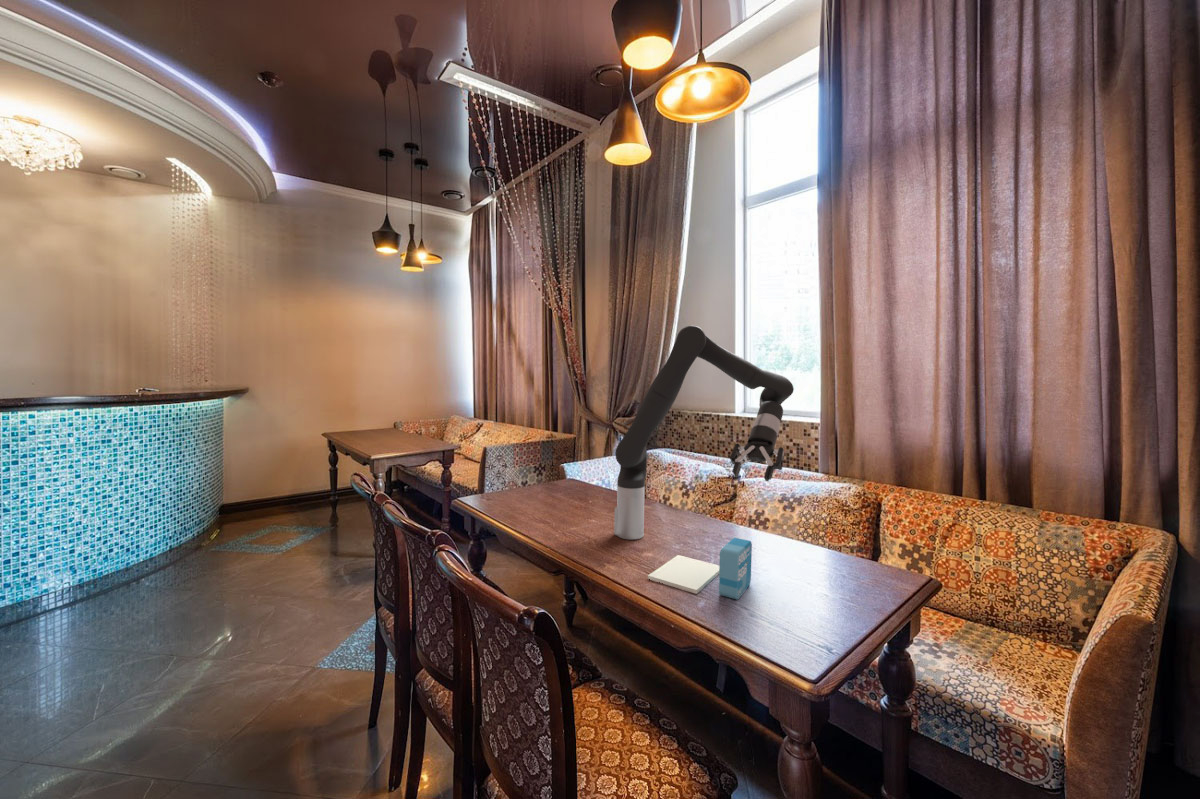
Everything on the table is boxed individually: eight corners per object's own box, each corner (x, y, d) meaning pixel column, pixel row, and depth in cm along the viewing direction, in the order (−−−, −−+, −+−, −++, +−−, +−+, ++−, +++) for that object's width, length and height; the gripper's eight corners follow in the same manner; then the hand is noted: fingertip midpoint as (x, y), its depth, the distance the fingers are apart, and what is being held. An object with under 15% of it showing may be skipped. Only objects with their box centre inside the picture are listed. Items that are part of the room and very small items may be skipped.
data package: (736, 602, 112) (737, 553, 112) (718, 596, 115) (719, 549, 114) (750, 584, 122) (752, 539, 122) (734, 579, 125) (735, 535, 124)
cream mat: (648, 579, 124) (648, 575, 124) (678, 558, 139) (678, 554, 139) (696, 593, 116) (696, 590, 116) (723, 570, 131) (723, 566, 131)
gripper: (737, 422, 139) (722, 466, 131) (787, 425, 131) (774, 472, 122) (743, 438, 144) (729, 481, 135) (791, 442, 135) (779, 488, 127)
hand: (750, 477), depth 129 cm, fingers open, 8 cm apart
